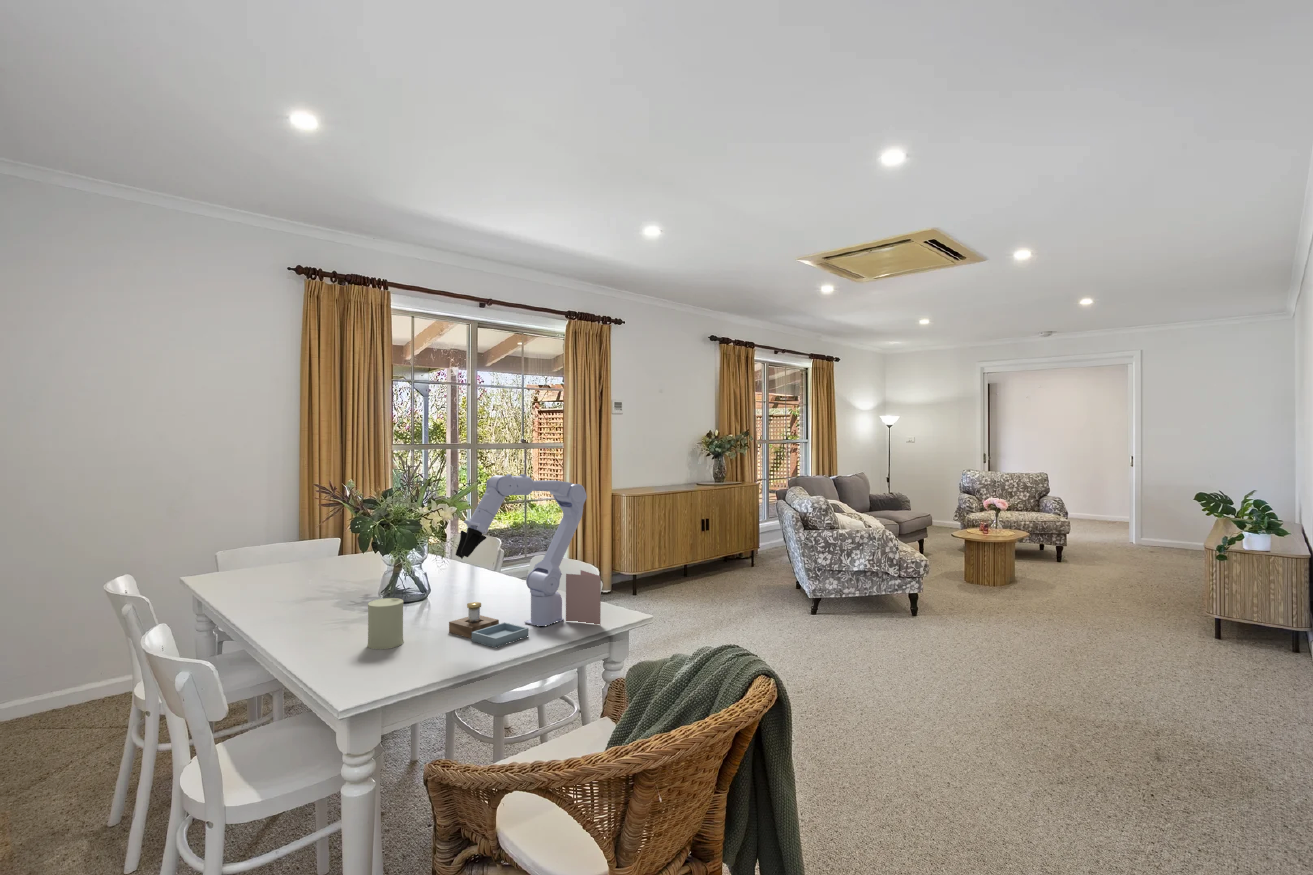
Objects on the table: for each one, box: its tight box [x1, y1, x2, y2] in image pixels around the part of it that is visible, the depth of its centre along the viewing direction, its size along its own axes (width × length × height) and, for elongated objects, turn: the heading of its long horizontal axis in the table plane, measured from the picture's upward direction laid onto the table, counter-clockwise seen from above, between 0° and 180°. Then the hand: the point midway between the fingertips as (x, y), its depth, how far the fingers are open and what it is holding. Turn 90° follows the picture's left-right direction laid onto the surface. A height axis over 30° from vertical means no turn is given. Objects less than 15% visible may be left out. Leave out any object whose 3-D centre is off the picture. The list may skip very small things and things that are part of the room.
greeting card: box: [565, 569, 602, 625], centre depth 200 cm, size 11×7×15 cm, turn 38°
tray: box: [471, 622, 530, 648], centre depth 184 cm, size 12×10×2 cm
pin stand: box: [448, 614, 500, 639], centre depth 191 cm, size 10×10×3 cm
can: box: [367, 597, 405, 650], centre depth 179 cm, size 9×9×12 cm
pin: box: [466, 601, 482, 624], centre depth 191 cm, size 4×4×8 cm
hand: (461, 556), depth 180 cm, fingers open, 7 cm apart
